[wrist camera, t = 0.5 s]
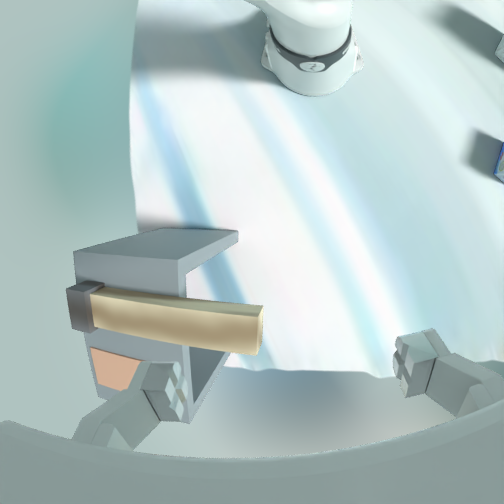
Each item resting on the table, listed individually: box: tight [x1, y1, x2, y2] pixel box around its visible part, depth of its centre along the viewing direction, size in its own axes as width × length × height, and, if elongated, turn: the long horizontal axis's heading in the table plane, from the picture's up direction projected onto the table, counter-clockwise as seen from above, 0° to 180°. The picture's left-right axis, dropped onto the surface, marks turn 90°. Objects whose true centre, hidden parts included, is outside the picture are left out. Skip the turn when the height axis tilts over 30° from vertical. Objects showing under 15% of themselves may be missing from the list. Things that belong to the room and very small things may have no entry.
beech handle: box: [66, 280, 263, 356], centre depth 31 cm, size 5×22×4 cm, turn 89°
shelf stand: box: [73, 228, 238, 424], centre depth 47 cm, size 22×15×26 cm
